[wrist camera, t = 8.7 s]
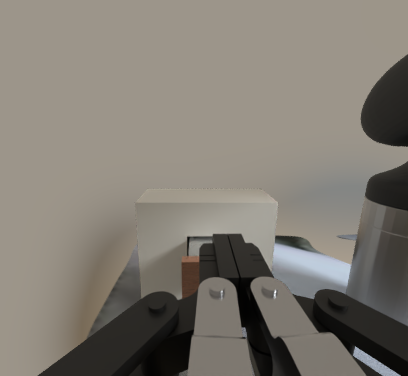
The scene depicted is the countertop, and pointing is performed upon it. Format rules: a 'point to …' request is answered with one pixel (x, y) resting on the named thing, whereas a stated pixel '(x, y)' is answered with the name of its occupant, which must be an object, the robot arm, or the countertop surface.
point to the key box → (196, 228)
